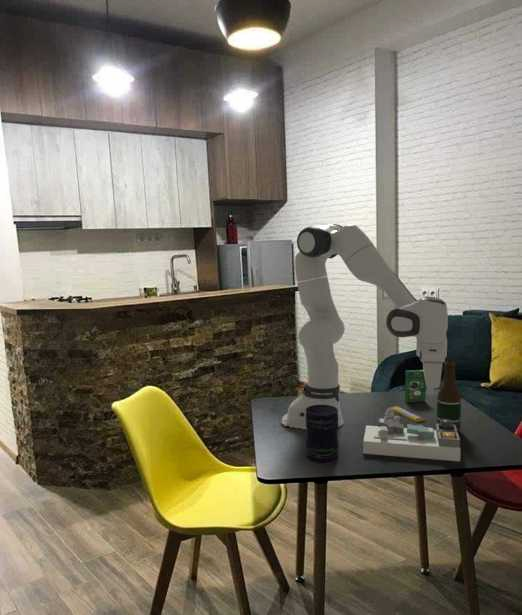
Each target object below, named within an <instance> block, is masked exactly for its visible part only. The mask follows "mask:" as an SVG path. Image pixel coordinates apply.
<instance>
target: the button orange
mask: <svg viewBox="0 0 522 615" xmlns="http://www.w3.org/2000/svg"><path fill="white" fill-rule="evenodd" d="M442 438H453V439H455V434H454V433H450V432H444V433H442Z"/></svg>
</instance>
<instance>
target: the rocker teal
mask: <svg viewBox="0 0 522 615" xmlns="http://www.w3.org/2000/svg"><path fill="white" fill-rule="evenodd" d="M406 428H407V433H410V434H415V435H418V431H423V436H427V437H433V438H434V430H435V429H434V427H426V426H423V427H422V426H417V425H415V424H411V423H410V424H409V423H407V424H406Z"/></svg>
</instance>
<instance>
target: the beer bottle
mask: <svg viewBox="0 0 522 615" xmlns="http://www.w3.org/2000/svg"><path fill="white" fill-rule="evenodd" d="M443 363H444V364H443V366H444V371H443V381H442V386H441V387H440V388H439V390H438V393H437V398H436V424H440V422H441V419H449V420H452V421H453V425H456V429H457V433H458V434H460V432H461V427H462V395H461V392H460V390H459V388H458V387H457V384H456V370H455V369H456V368H455V367H456V363H455V362H453V361H445V362H443Z"/></svg>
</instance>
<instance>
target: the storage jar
mask: <svg viewBox="0 0 522 615" xmlns="http://www.w3.org/2000/svg"><path fill="white" fill-rule="evenodd" d="M337 413H338V409H337V408H336V407H334V406H330V405H313V406H309V407H307V408H306V428H307V429H306V439H305V444H306V445H305V449H306V458H307V460H308V461H310V462H312V463H316V464H331V463H335V462H336V461H337V460H338V459H339V449H340V448H339V438H338V428H339V427H338V414H337Z"/></svg>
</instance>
